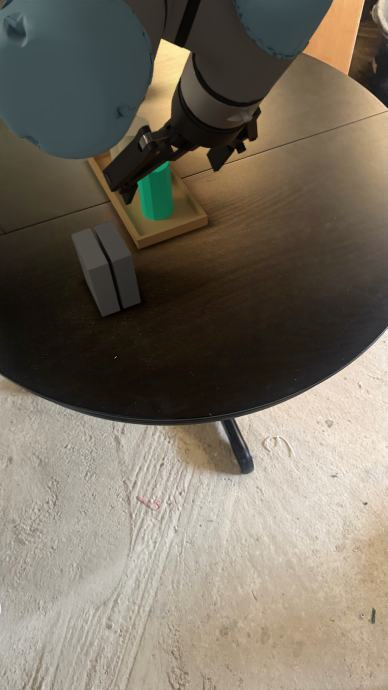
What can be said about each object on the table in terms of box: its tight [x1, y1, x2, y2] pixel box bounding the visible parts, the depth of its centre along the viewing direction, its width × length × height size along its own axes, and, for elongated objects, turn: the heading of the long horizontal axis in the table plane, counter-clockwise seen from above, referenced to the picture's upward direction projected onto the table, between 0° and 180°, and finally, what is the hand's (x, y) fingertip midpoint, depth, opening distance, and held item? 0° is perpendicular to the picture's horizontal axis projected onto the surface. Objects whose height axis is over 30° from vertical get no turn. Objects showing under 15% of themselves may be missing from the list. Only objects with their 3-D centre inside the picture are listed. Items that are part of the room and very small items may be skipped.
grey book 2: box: [93, 220, 142, 309], centre depth 74 cm, size 8×3×11 cm, turn 26°
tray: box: [87, 150, 209, 250], centre depth 91 cm, size 28×14×2 cm, turn 26°
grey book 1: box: [70, 227, 121, 318], centre depth 73 cm, size 8×3×11 cm, turn 26°
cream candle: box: [118, 115, 151, 193], centre depth 87 cm, size 6×6×12 cm
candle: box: [138, 161, 174, 221], centre depth 83 cm, size 6×6×12 cm
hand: (169, 178), depth 65 cm, fingers open, 13 cm apart
